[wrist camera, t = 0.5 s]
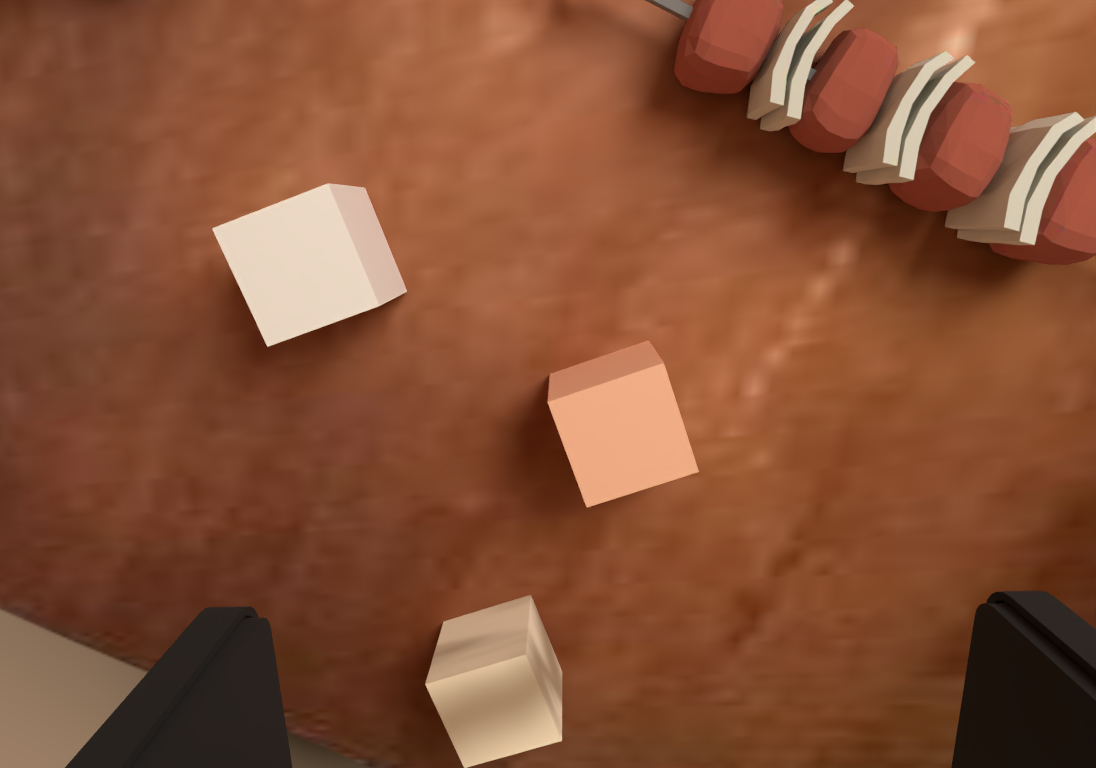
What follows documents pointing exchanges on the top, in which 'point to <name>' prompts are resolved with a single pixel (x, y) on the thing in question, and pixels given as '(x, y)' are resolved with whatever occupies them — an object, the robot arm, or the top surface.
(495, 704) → the birch block
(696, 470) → the terracotta block
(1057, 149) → the skewer
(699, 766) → the top surface
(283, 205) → the cream block
